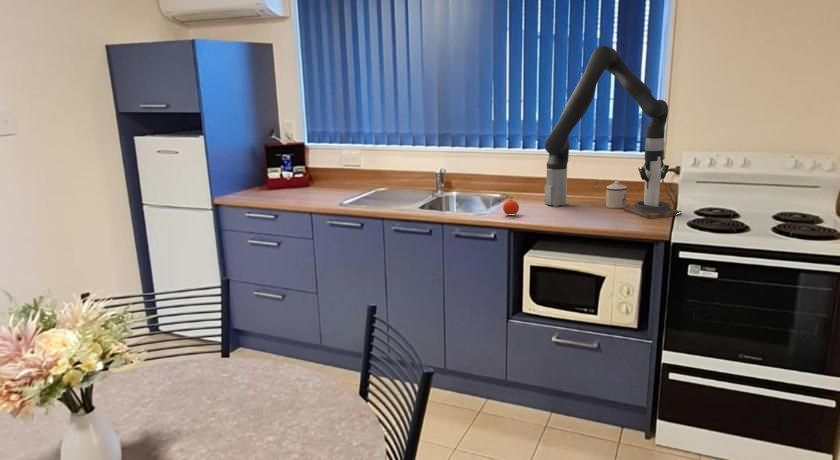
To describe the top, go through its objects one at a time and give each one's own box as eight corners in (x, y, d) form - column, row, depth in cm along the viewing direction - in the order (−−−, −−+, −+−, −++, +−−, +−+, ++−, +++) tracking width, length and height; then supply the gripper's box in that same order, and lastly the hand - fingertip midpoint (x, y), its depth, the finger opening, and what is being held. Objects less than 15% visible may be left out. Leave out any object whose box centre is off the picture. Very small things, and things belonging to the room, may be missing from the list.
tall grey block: (644, 203, 254) (647, 153, 249) (659, 203, 251) (662, 154, 246) (642, 206, 248) (644, 155, 243) (657, 207, 245) (660, 156, 240)
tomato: (501, 213, 262) (500, 198, 261) (516, 212, 263) (516, 197, 261) (505, 217, 255) (504, 201, 253) (520, 216, 255) (520, 200, 254)
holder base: (647, 218, 240) (648, 209, 240) (623, 210, 256) (623, 201, 256) (681, 214, 244) (681, 205, 243) (655, 207, 260) (655, 198, 259)
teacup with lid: (626, 208, 260) (627, 183, 257) (605, 208, 263) (606, 183, 260) (626, 203, 271) (626, 178, 269) (605, 203, 274) (606, 178, 271)
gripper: (663, 146, 249) (661, 186, 253) (634, 149, 246) (632, 189, 250) (675, 148, 242) (672, 189, 246) (645, 150, 239) (643, 192, 243)
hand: (652, 189), depth 248 cm, fingers closed on tall grey block, 3 cm apart
